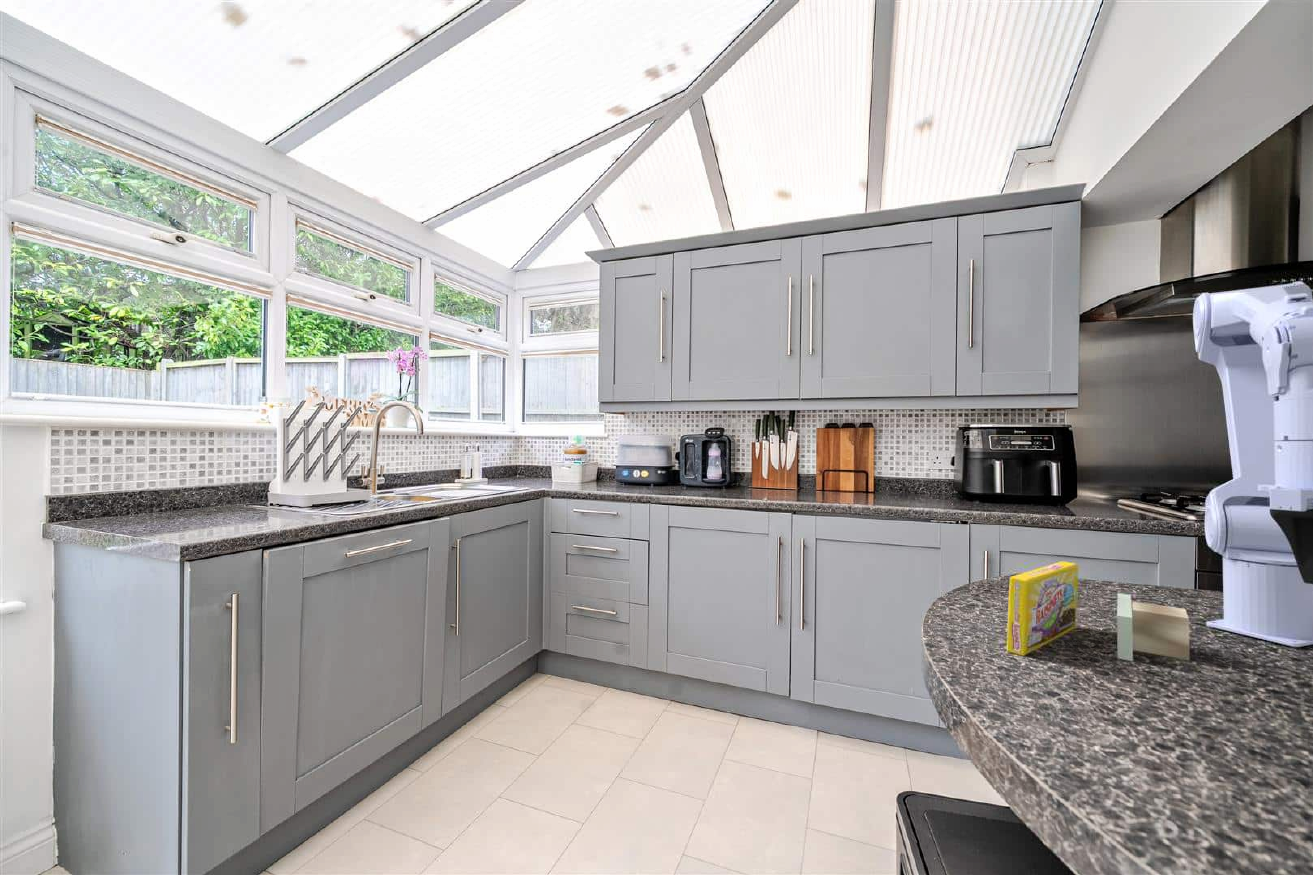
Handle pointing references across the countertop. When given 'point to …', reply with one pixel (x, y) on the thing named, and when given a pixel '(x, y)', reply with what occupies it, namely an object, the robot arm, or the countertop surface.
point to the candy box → (1041, 606)
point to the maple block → (1160, 630)
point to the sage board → (1124, 627)
